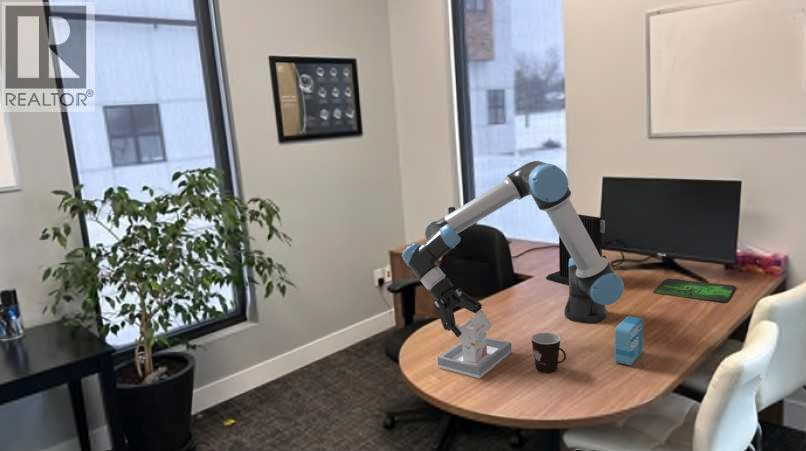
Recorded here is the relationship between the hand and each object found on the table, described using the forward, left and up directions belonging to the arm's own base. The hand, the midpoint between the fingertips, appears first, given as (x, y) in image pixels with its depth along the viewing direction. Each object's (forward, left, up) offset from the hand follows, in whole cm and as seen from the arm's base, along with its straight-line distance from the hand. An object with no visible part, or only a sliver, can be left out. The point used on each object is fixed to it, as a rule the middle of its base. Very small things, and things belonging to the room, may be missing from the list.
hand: (479, 335), depth 182 cm
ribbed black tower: (0, -91, -9) cm, 92 cm away
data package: (-39, -24, -9) cm, 47 cm away
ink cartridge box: (+2, 0, -8) cm, 8 cm away
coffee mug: (-21, -4, -9) cm, 23 cm away
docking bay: (+2, 0, -9) cm, 9 cm away
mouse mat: (-43, -98, -9) cm, 108 cm away
